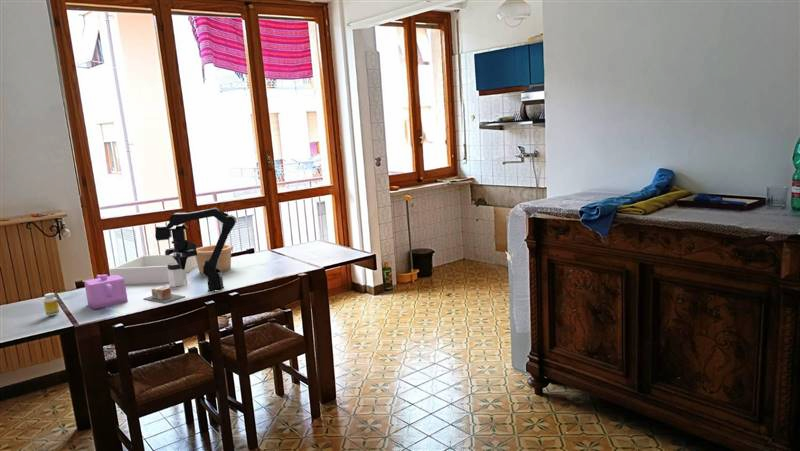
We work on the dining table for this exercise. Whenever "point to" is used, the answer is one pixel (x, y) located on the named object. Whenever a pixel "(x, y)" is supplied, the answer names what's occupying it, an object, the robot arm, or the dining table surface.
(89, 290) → the pink knobbed box
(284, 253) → the dining table surface
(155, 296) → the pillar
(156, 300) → the mat
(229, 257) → the pottery
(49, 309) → the supplement bottle
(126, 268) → the tub
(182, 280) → the white upright block
